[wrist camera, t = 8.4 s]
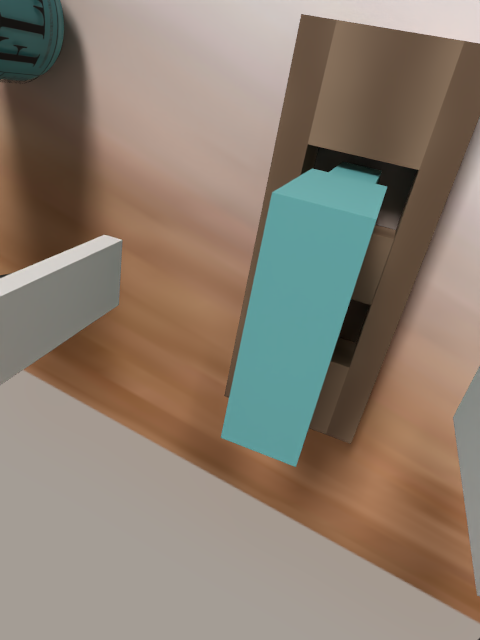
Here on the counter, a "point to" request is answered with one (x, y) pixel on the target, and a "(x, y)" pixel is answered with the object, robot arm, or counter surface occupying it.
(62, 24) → the beverage bottle
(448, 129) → the rail
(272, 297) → the notched teal block
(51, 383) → the counter surface
